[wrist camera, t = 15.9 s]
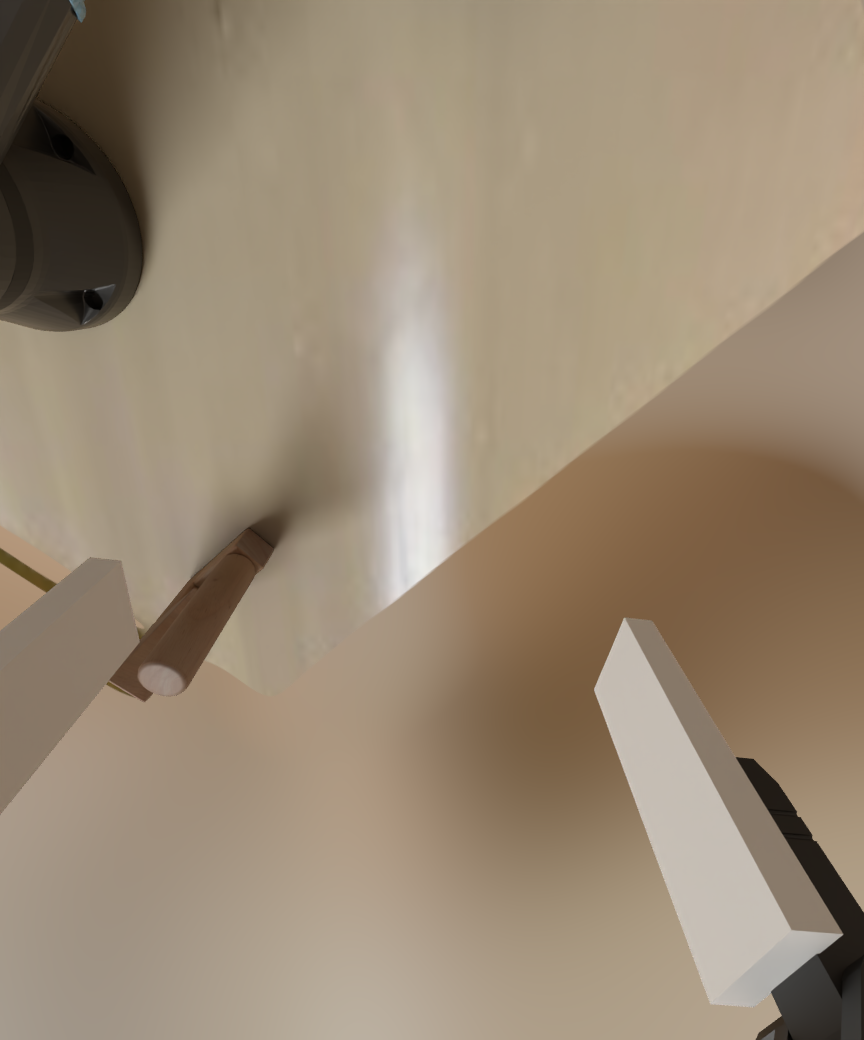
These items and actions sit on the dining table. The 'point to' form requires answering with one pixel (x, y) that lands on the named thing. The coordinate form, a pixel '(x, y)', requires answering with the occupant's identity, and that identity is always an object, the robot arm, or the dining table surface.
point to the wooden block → (192, 622)
